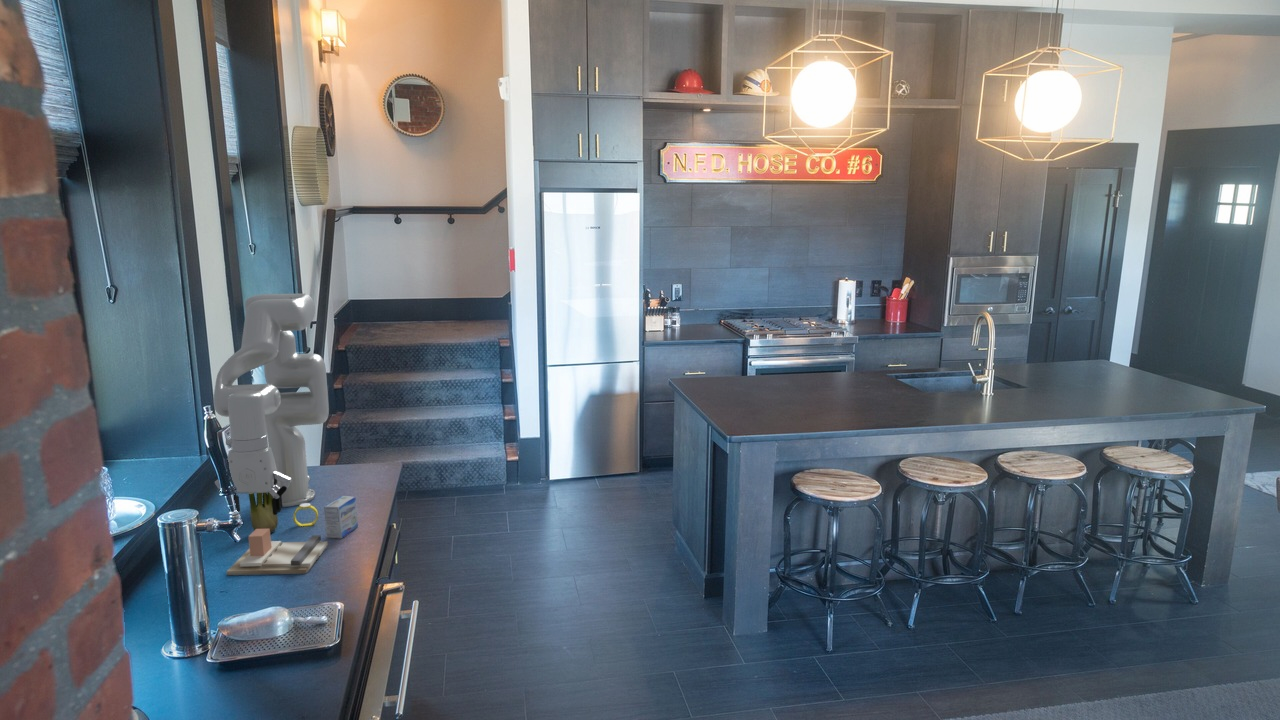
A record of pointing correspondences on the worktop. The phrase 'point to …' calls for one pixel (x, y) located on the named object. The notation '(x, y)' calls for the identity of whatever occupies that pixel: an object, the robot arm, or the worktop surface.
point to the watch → (305, 506)
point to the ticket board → (284, 559)
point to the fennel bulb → (262, 512)
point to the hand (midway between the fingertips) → (256, 513)
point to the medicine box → (340, 517)
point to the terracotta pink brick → (260, 548)
